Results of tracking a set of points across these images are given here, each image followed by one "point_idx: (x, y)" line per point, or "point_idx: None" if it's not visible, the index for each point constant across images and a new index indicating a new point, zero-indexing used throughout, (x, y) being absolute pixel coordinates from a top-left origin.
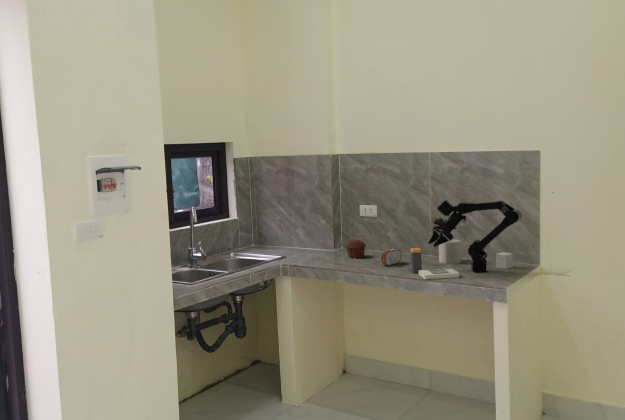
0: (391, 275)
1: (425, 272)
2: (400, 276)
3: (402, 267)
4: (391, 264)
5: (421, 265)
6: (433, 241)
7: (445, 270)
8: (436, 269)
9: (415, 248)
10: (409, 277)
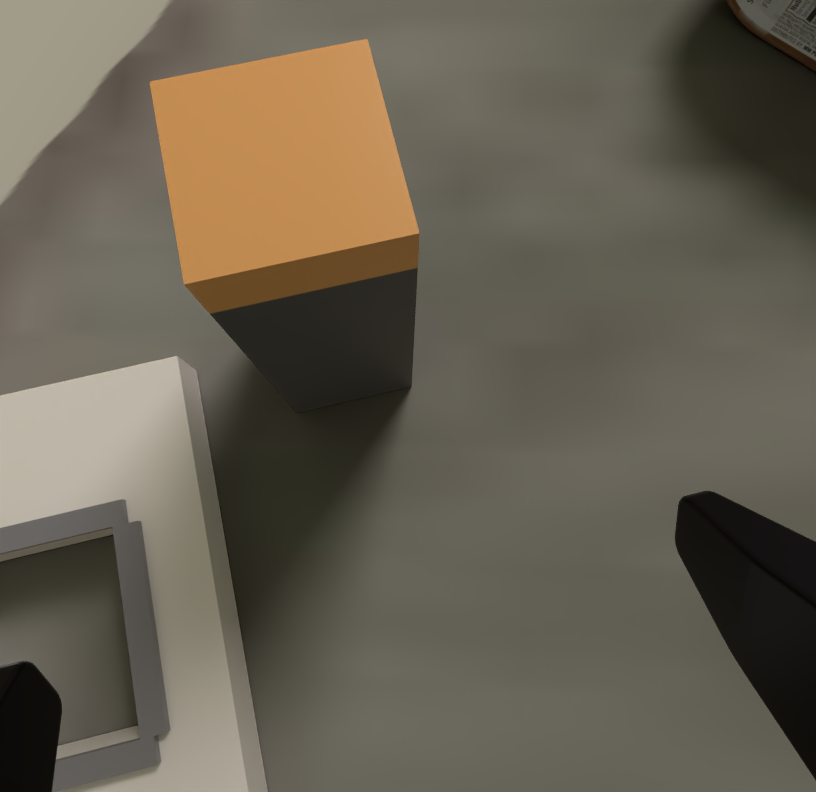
0: (171, 68)
1: (11, 448)
2: (100, 160)
3: (644, 184)
4: (797, 57)
5: (277, 389)
6: (788, 720)
7: (54, 779)
8: (208, 627)
9: (338, 148)
10: (26, 258)
